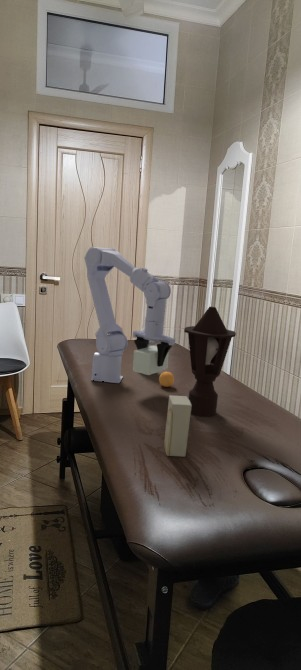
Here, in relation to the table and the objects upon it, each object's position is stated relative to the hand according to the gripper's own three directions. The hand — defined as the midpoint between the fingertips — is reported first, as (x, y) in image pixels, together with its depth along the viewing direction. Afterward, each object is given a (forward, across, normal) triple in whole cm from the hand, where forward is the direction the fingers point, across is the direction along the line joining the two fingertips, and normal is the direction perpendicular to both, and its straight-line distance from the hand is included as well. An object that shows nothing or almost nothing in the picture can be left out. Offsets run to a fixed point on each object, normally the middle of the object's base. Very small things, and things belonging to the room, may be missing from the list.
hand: (151, 363), depth 147 cm
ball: (+7, -1, -9) cm, 11 cm away
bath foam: (+9, +16, -21) cm, 28 cm away
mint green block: (+2, 0, 0) cm, 2 cm away
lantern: (+9, -21, +4) cm, 23 cm away
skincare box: (+9, -29, +32) cm, 44 cm away
